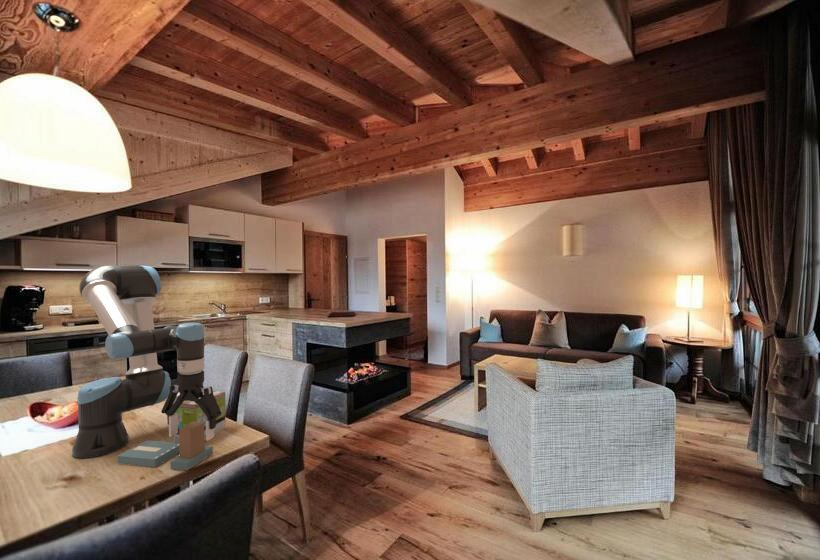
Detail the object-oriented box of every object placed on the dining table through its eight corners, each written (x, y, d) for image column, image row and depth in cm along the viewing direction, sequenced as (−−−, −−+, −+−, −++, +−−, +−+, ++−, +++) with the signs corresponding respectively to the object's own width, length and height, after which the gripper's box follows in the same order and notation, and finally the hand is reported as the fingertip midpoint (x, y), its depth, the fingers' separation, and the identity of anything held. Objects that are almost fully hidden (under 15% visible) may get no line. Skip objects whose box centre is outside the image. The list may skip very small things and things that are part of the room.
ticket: (117, 463, 118) (117, 455, 118) (147, 447, 129) (147, 440, 128) (154, 467, 115) (154, 459, 115) (182, 450, 126) (182, 443, 126)
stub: (170, 468, 114) (169, 432, 114) (197, 451, 125) (196, 418, 125) (187, 470, 113) (186, 433, 113) (212, 453, 124) (212, 419, 124)
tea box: (197, 445, 130) (196, 404, 130) (173, 443, 132) (172, 402, 132) (226, 427, 145) (225, 390, 144) (204, 426, 147) (203, 389, 146)
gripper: (147, 372, 117) (148, 438, 118) (216, 377, 112) (217, 445, 113) (167, 366, 124) (168, 428, 125) (233, 370, 120) (233, 434, 120)
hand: (191, 436), depth 119 cm, fingers open, 13 cm apart
